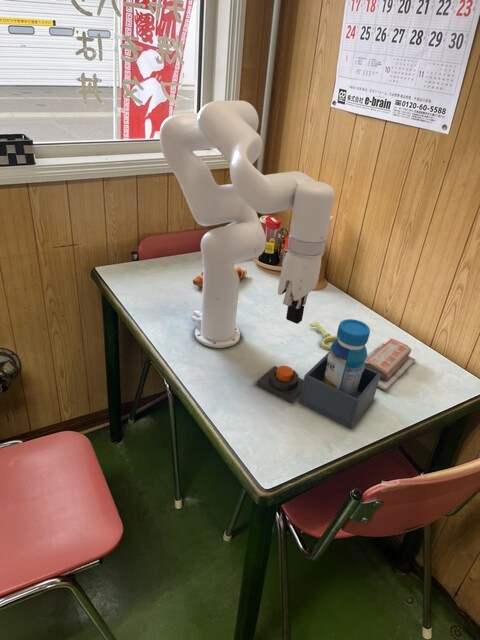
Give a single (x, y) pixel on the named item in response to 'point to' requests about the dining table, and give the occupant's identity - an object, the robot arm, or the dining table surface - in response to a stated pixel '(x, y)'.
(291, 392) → the box
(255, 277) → the dining table surface
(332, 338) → the key
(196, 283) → the croissant
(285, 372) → the call button
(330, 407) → the blue box
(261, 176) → the robot arm
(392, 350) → the packaged product
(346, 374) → the beverage bottle
